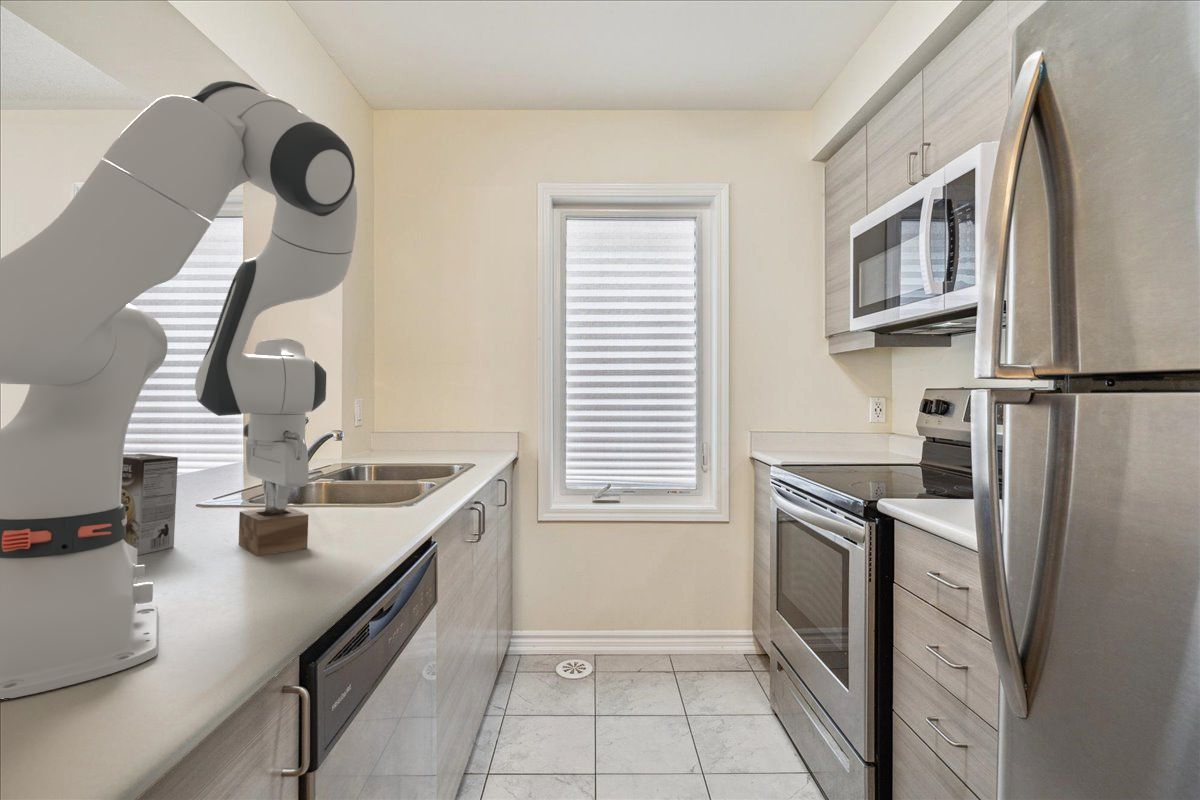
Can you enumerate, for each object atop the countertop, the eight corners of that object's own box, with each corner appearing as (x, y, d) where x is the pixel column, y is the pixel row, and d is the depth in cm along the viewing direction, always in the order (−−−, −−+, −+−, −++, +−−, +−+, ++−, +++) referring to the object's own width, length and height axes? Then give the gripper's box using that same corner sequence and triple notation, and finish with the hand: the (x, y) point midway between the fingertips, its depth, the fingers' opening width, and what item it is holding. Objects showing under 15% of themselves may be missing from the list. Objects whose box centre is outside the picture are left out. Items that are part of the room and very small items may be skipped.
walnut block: (307, 547, 104) (308, 514, 104) (258, 555, 98) (259, 520, 98) (285, 537, 110) (286, 506, 110) (238, 544, 104) (239, 511, 104)
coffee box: (99, 550, 98) (102, 455, 98) (139, 541, 104) (141, 452, 104) (137, 556, 95) (140, 458, 95) (176, 546, 102) (179, 455, 101)
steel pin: (287, 530, 104) (289, 475, 104) (267, 533, 101) (270, 476, 101) (280, 527, 106) (282, 473, 106) (261, 530, 104) (263, 474, 104)
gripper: (319, 432, 99) (317, 513, 99) (276, 426, 113) (274, 497, 113) (280, 433, 94) (277, 518, 94) (239, 427, 108) (237, 500, 108)
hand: (275, 506), depth 104 cm, fingers closed on steel pin, 3 cm apart
